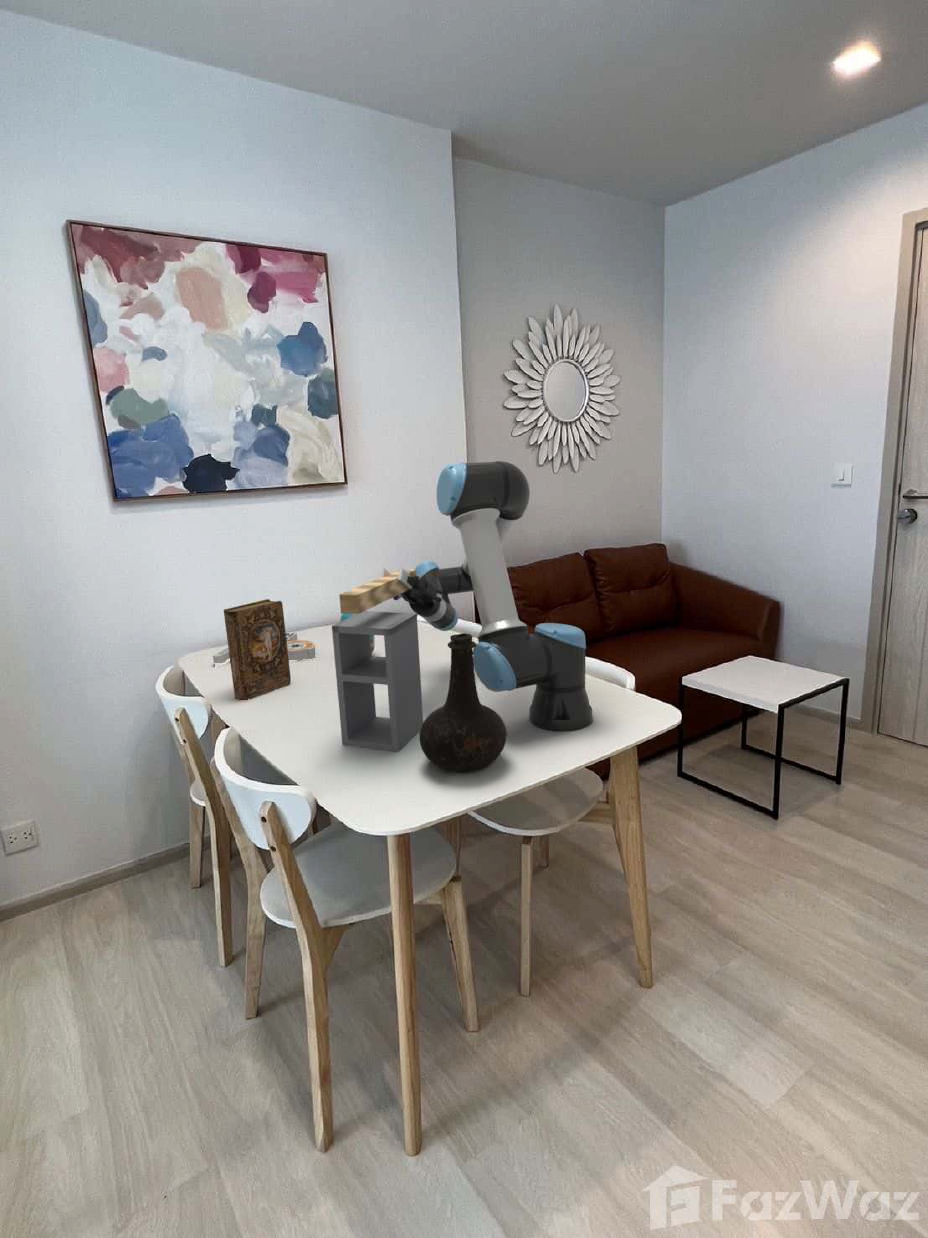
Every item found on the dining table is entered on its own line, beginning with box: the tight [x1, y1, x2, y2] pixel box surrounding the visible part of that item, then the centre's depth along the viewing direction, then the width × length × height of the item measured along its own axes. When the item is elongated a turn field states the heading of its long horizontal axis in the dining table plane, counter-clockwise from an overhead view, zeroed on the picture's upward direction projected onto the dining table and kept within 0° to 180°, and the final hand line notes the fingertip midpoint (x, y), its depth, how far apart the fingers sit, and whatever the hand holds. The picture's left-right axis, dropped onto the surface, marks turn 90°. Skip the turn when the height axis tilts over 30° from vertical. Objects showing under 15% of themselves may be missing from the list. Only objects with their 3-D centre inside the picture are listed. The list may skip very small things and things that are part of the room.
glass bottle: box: [419, 632, 508, 774], centre depth 137 cm, size 18×18×28 cm
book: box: [223, 598, 292, 701], centre depth 187 cm, size 16×6×25 cm, turn 145°
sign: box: [212, 631, 316, 664], centre depth 225 cm, size 30×4×30 cm
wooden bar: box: [339, 569, 416, 615], centre depth 152 cm, size 30×4×4 cm, turn 160°
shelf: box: [331, 610, 424, 753], centre depth 153 cm, size 14×14×28 cm
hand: (391, 574), depth 156 cm, fingers closed on wooden bar, 4 cm apart
